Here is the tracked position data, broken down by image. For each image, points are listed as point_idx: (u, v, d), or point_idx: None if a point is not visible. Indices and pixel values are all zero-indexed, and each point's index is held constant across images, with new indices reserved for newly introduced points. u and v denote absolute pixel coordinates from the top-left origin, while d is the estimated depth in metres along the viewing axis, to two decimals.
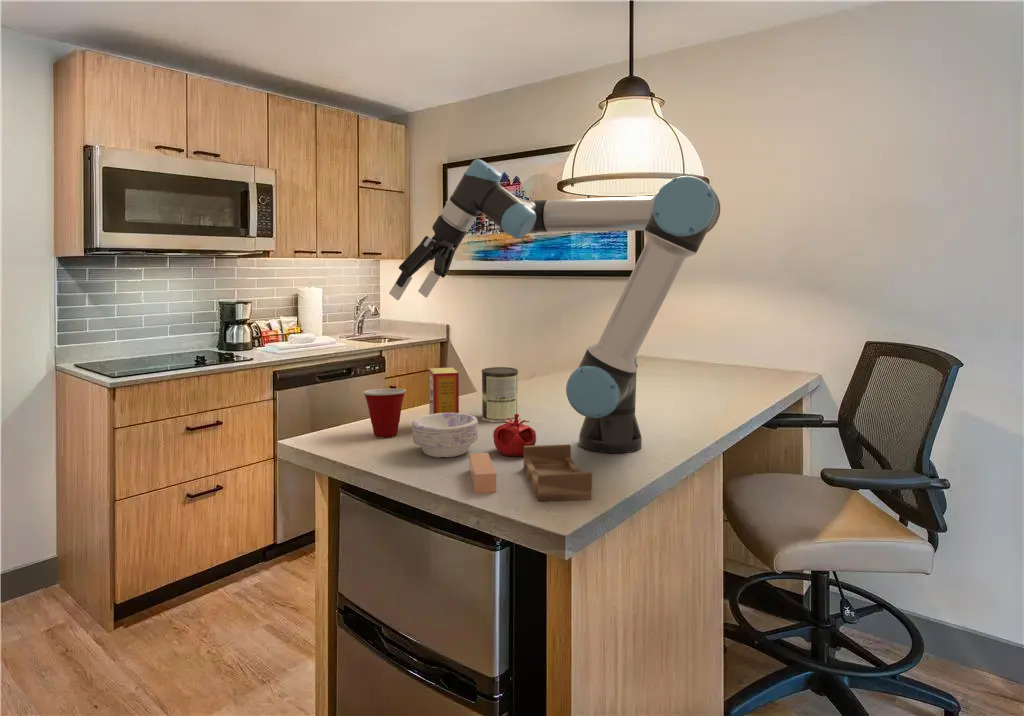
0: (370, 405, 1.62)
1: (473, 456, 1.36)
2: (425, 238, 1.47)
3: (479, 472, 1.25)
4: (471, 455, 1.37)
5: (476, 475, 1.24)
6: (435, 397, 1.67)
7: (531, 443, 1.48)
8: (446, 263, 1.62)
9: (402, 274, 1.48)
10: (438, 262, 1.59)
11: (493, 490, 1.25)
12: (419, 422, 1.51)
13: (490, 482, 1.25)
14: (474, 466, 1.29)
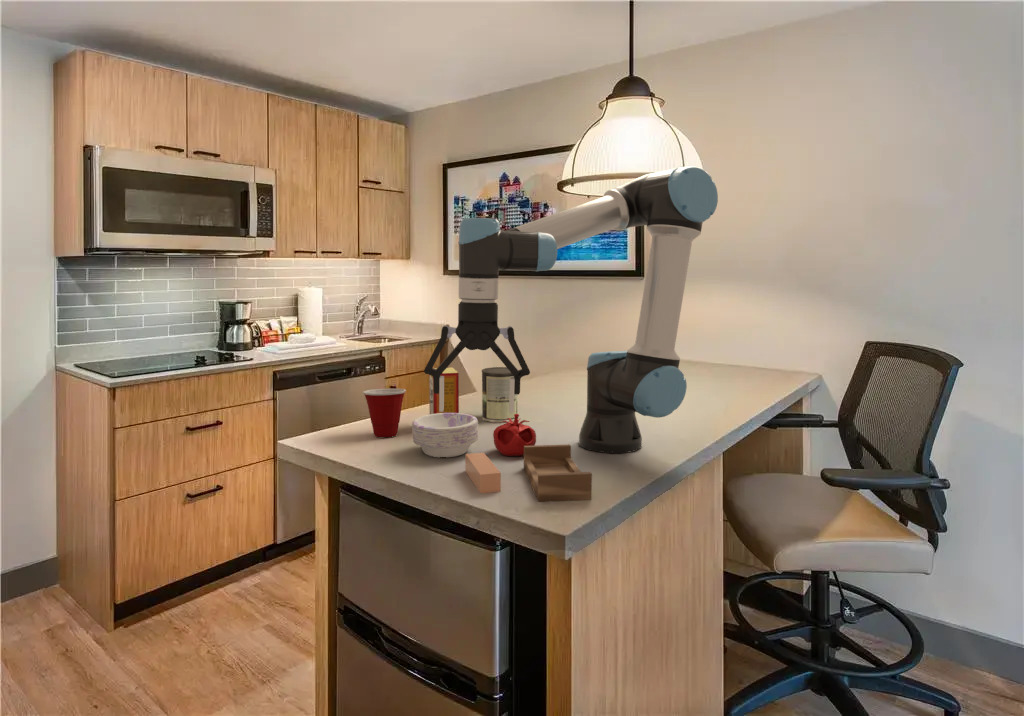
0: (370, 405, 1.62)
1: (470, 456, 1.35)
2: (513, 329, 1.23)
3: (483, 472, 1.25)
4: (467, 455, 1.36)
5: (481, 475, 1.24)
6: (435, 397, 1.67)
7: (531, 443, 1.48)
8: None
9: None
10: None
11: (498, 489, 1.25)
12: (419, 422, 1.51)
13: (495, 482, 1.25)
14: (476, 466, 1.29)
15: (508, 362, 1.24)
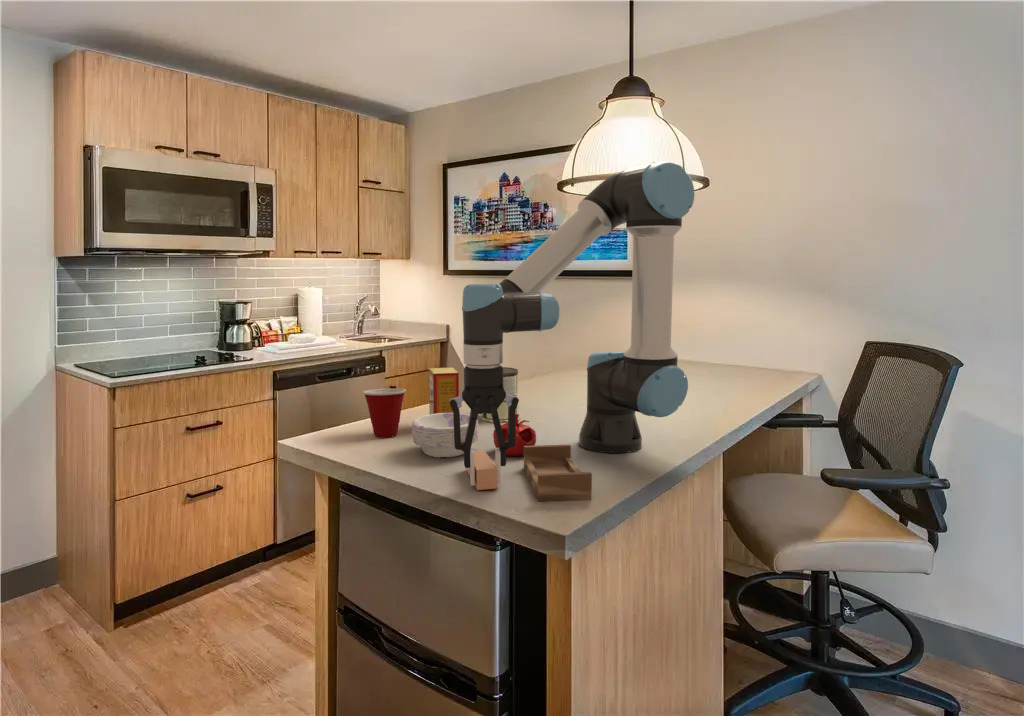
0: (370, 405, 1.62)
1: None
2: None
3: (480, 467, 1.26)
4: None
5: (477, 470, 1.24)
6: (435, 397, 1.67)
7: (531, 443, 1.48)
8: None
9: (505, 451, 1.26)
10: None
11: (494, 485, 1.25)
12: (419, 422, 1.51)
13: (492, 477, 1.25)
14: None
15: (500, 432, 1.25)
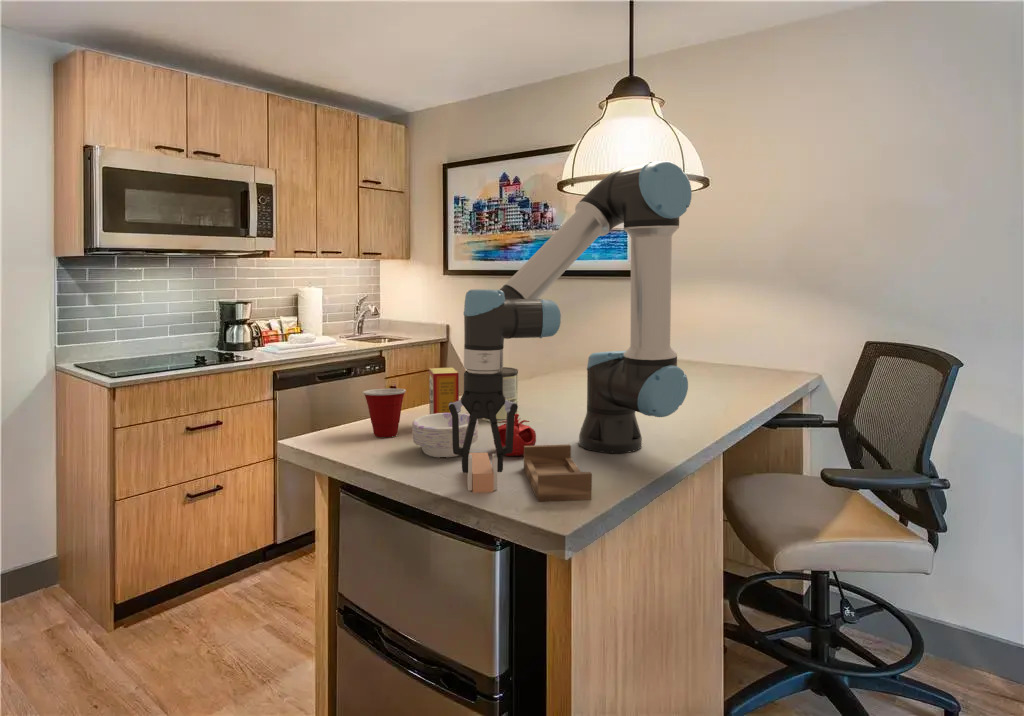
0: (370, 405, 1.62)
1: (472, 455, 1.36)
2: None
3: (477, 472, 1.25)
4: None
5: (473, 474, 1.24)
6: (435, 397, 1.67)
7: (531, 443, 1.48)
8: None
9: None
10: None
11: (490, 490, 1.25)
12: (419, 422, 1.51)
13: (488, 482, 1.25)
14: (472, 465, 1.29)
15: (498, 438, 1.25)
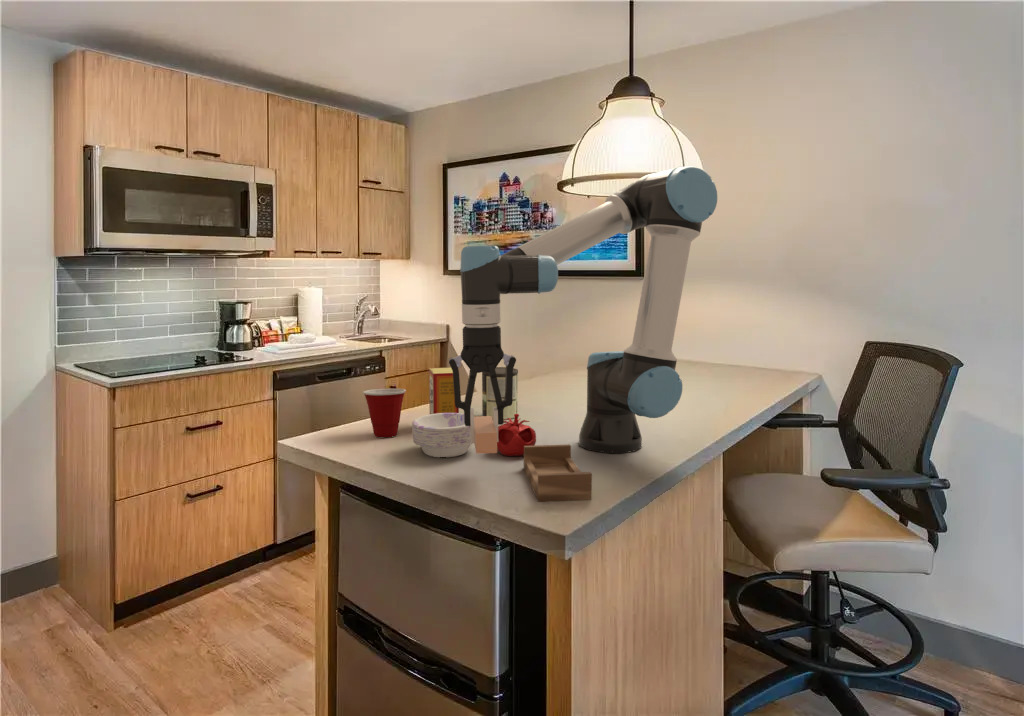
0: (370, 405, 1.62)
1: (476, 418, 1.35)
2: (515, 360, 1.28)
3: (480, 431, 1.24)
4: None
5: (477, 434, 1.23)
6: (435, 397, 1.67)
7: (531, 443, 1.48)
8: None
9: None
10: None
11: (494, 449, 1.24)
12: (419, 422, 1.51)
13: (491, 442, 1.24)
14: (475, 426, 1.28)
15: (498, 391, 1.28)
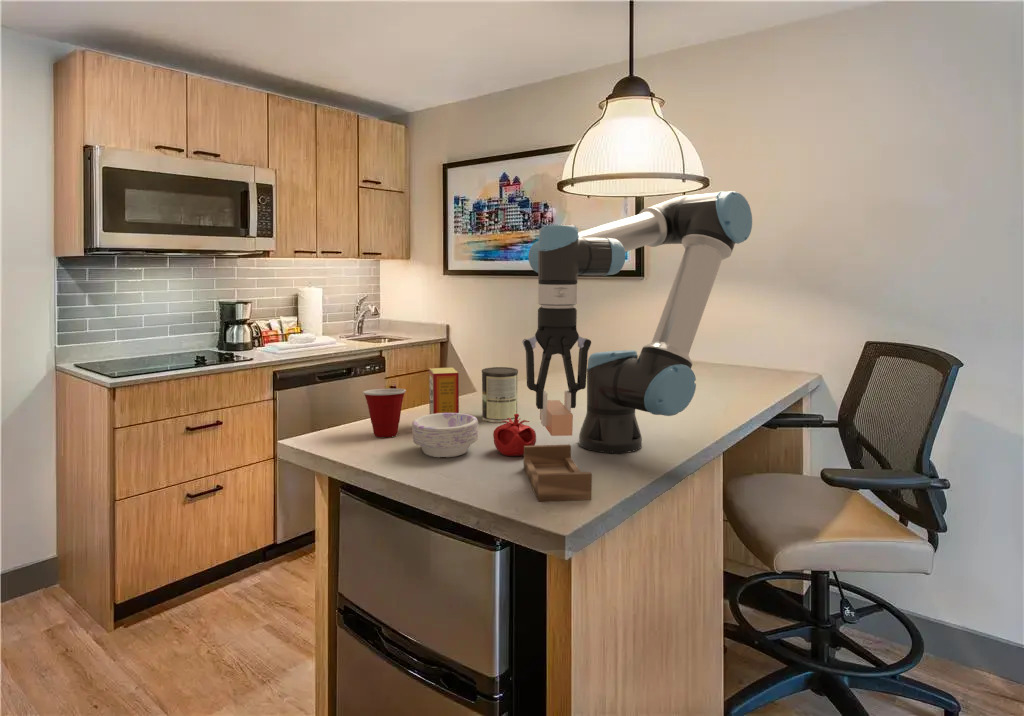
0: (370, 405, 1.62)
1: None
2: None
3: (555, 413, 1.22)
4: None
5: (552, 416, 1.21)
6: (435, 397, 1.67)
7: (531, 443, 1.48)
8: None
9: None
10: None
11: (569, 432, 1.22)
12: (419, 422, 1.51)
13: (567, 424, 1.22)
14: (548, 409, 1.26)
15: (572, 374, 1.26)
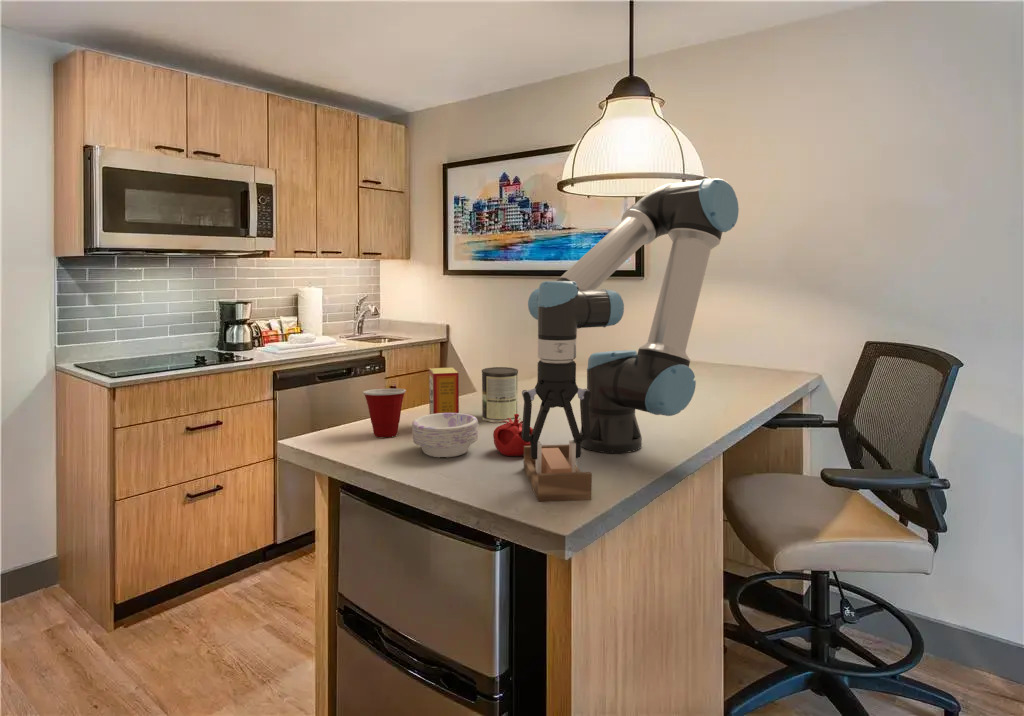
0: (370, 405, 1.62)
1: (544, 450, 1.34)
2: None
3: (554, 466, 1.24)
4: None
5: (552, 469, 1.23)
6: (435, 397, 1.67)
7: None
8: None
9: None
10: None
11: None
12: (419, 422, 1.51)
13: None
14: (548, 460, 1.28)
15: (575, 425, 1.28)
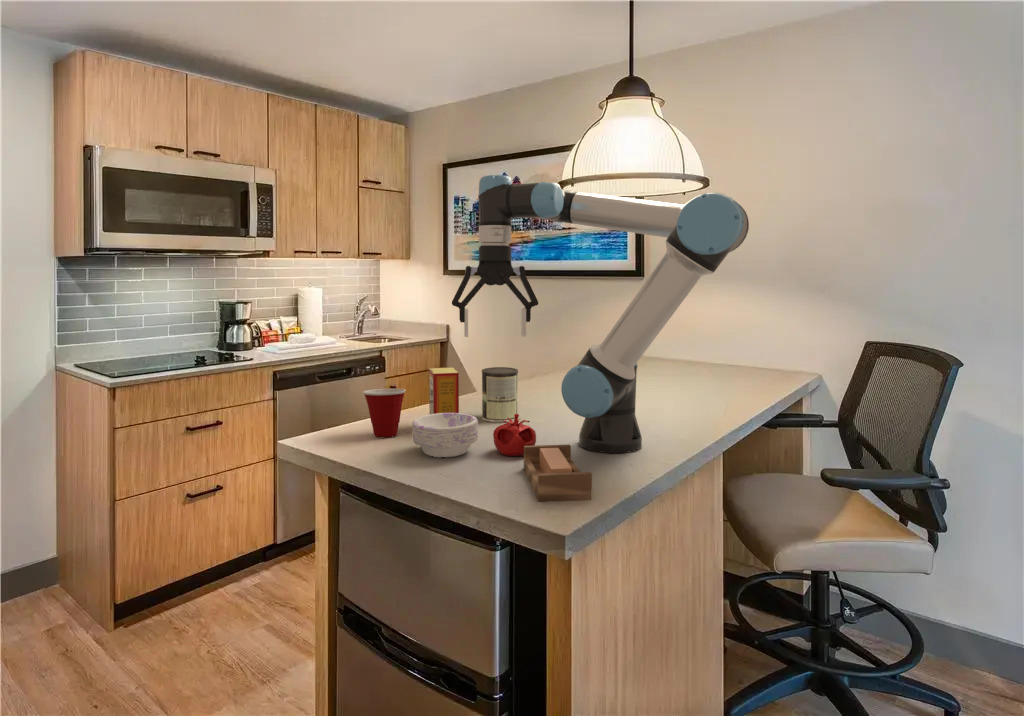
0: (370, 405, 1.62)
1: (544, 450, 1.34)
2: None
3: (554, 466, 1.24)
4: (541, 449, 1.35)
5: (552, 469, 1.23)
6: (435, 397, 1.67)
7: (531, 443, 1.48)
8: None
9: (530, 309, 1.53)
10: None
11: None
12: (419, 422, 1.51)
13: None
14: (548, 460, 1.28)
15: (520, 295, 1.51)
